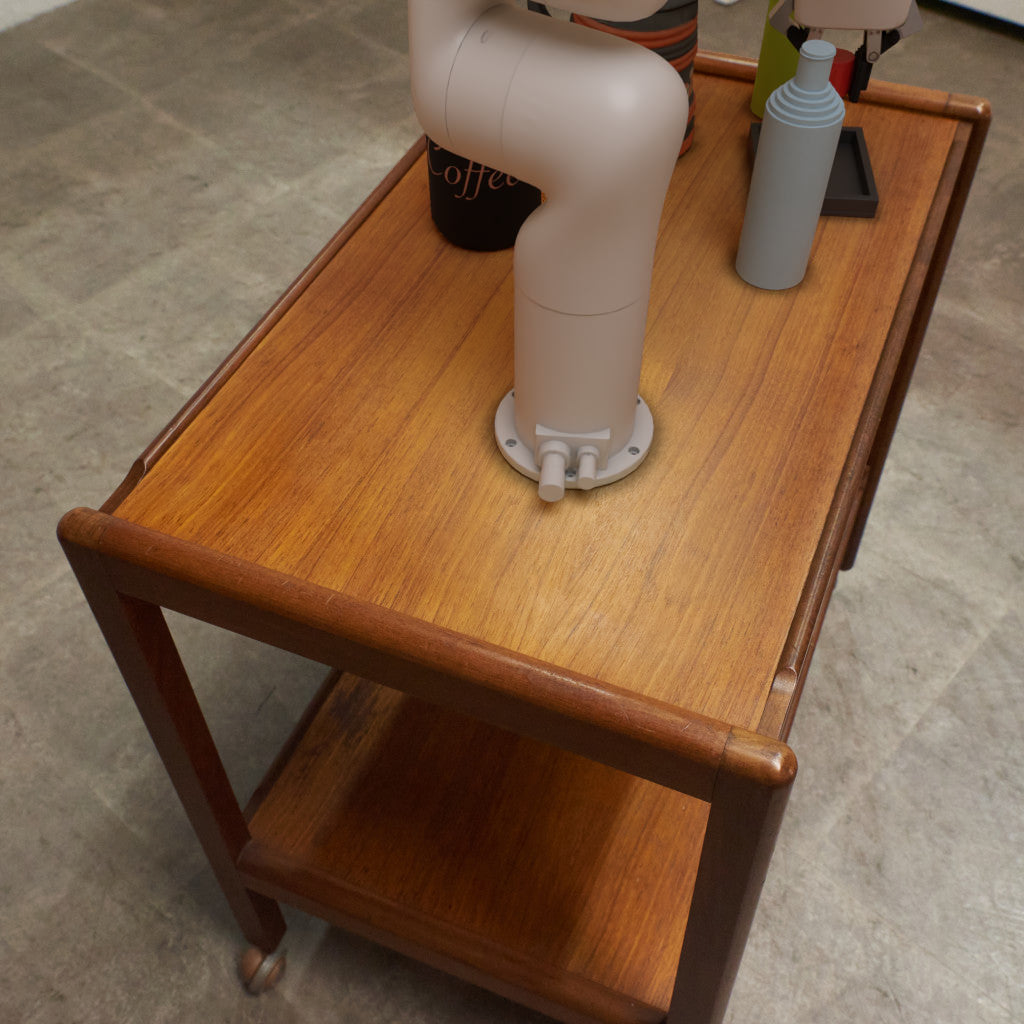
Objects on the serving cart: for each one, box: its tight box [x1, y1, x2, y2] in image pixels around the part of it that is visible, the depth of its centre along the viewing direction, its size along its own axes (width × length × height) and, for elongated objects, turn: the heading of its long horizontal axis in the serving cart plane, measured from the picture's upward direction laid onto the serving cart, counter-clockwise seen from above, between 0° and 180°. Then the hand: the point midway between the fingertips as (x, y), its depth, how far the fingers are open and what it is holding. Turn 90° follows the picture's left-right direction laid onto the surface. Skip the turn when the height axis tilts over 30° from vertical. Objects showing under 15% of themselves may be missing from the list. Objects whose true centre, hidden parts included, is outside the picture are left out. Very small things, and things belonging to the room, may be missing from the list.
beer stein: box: [526, 0, 699, 160], centre depth 107 cm, size 19×15×20 cm
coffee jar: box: [425, 133, 543, 253], centre depth 97 cm, size 11×11×18 cm
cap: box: [829, 47, 855, 98], centre depth 102 cm, size 4×4×3 cm
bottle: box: [734, 39, 846, 291], centre depth 91 cm, size 6×6×21 cm
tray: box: [747, 121, 880, 219], centre depth 108 cm, size 14×12×2 cm
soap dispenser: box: [750, 0, 804, 120], centre depth 111 cm, size 6×7×20 cm
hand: (828, 93), depth 102 cm, fingers closed on cap, 3 cm apart
